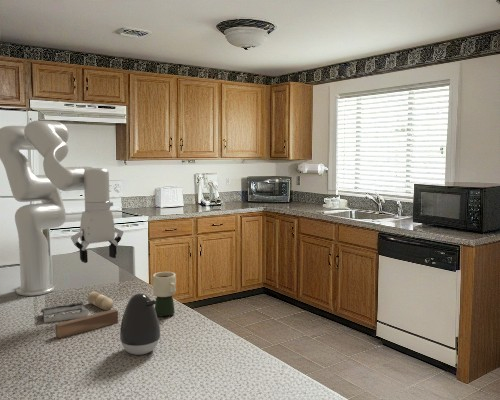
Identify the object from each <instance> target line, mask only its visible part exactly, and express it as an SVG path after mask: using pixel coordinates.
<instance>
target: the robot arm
mask: <svg viewBox="0 0 500 400" xmlns="http://www.w3.org/2000/svg"><path fill="white" fill-rule="evenodd" d="M68 139H69V131H68V128H67V127H66V125H65V124H63V123H62V122H59V121H54V120H53V121H51V120H33V121H30V122H28V123H27V124H26V125H6V126H2V127H1V128H0V161H1V163H2V165H3V166H4V170H5V173H6V177H7V179H8V181H7V182H8V183H9V187H10V190H11V194H12V196H13V198H14V200H15V201H17V202H19V203H28V202H30V204H29V203H28V204H25V205H22V206H20V207H19V208H18V209H17V210H16V211H15V214H14V223H15V226H16V231H17V235H18V237H17V238H18V251H19V269H20V270H19V271H20V275H19V276H20V286H19V287H17V288H16V289H15V293H16V294H17V295H19V296H25V297H29V296H32V297H33V296H40V295H44V294H45V295H46V294H49V293H51V292H53V291H54V289H55V285H54V284H52V283H50V261H49V260H50V259H49V255H50V254H49V241H48V239H47V237H46V236H45V234H44V233H43V230H48V229H54V228H59V227H62V226H63V225H64V224H65V222H66V218H67V216H66V214H67V213H66V208H65V206H64V203H63V198H62V196H61V191H62V192H71V191H84V192H83V193H84V211H82V212H81V215H80V216H81V217H80V225H79V227H80V229H79V231H78V232H76V233H75V234H74V235H72V236H70V239H71V242H72V243H73V245H74V246H75V247H76V248H77V249H78V250H79V260H80V261H81V262H82V263H84V264H86V263H88V260H89V259H88V249H87V248H88V246H89V245H91V244H98V243H99V244H100V243H105V242H109V246H108V253H109V254H108V256H109V257H110V258H113V259H116V258H117V246H118V245H119V243H120V241H122V237H123V235H124V230H121V229H118V228H117V227H116V226H115V220H114V216H113V212H112V210H111V207H114V202H113V201H111V200H110V173H109V170H108V169H107V168H103V167H93V166H92V167H91V166H67V167H65V166H63V165H62V163H60V162H62V161H63V160H65V158H66V157H67V155H68V153H69V146H68V144H67V142H68ZM22 150H23V151H24V150H27V151H28V150H29V151H30V150H31V151H37V152H38V153H39V154H40V155H41V156H42V157H43V161H42V166H43V167H42V168H43V172H44V174H35V172H33V171H34V170H33V169H32V165H31V162H30V161H29V160H28V158H27V156H25V155H24V154H23V153H22V152H21V151H22ZM40 201H41V202H40ZM32 202H40V203H32ZM31 203H32V204H31ZM115 235H116V236H115ZM79 240H80V241H81V242H80V241H79Z"/></svg>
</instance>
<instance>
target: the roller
mask: <svg viewBox="0 0 500 400" xmlns="http://www.w3.org/2000/svg"><path fill="white" fill-rule="evenodd" d="M87 301H88V303H90V304H92V305H94V306H96V307H97V308H99V309H102V310H103V311H104V312H106V311H110V310H112V309H113V307H114V300H113V299H112V298H110V297H108V296H107V295H103V294H101V293H99V292H97V291H91V292H90V293H89V294H88V296H87Z"/></svg>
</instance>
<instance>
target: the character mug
mask: <svg viewBox="0 0 500 400" xmlns="http://www.w3.org/2000/svg"><path fill="white" fill-rule="evenodd" d="M176 284H177V276H176V273H175V272H172V271H160V272H159V271H158V272H155V273H153V275H152V294H153V296H155V297H156V298H155V301H156V304H154V308H155V311H156V314H157V317H158V316H159V317H163V316H164V317H165V316H166V317H168V316H170V315H174V314H175V311H176V310H175V304H174V299H173V297H172V296H174V295H175V294H176V292H177V289H176Z"/></svg>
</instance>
